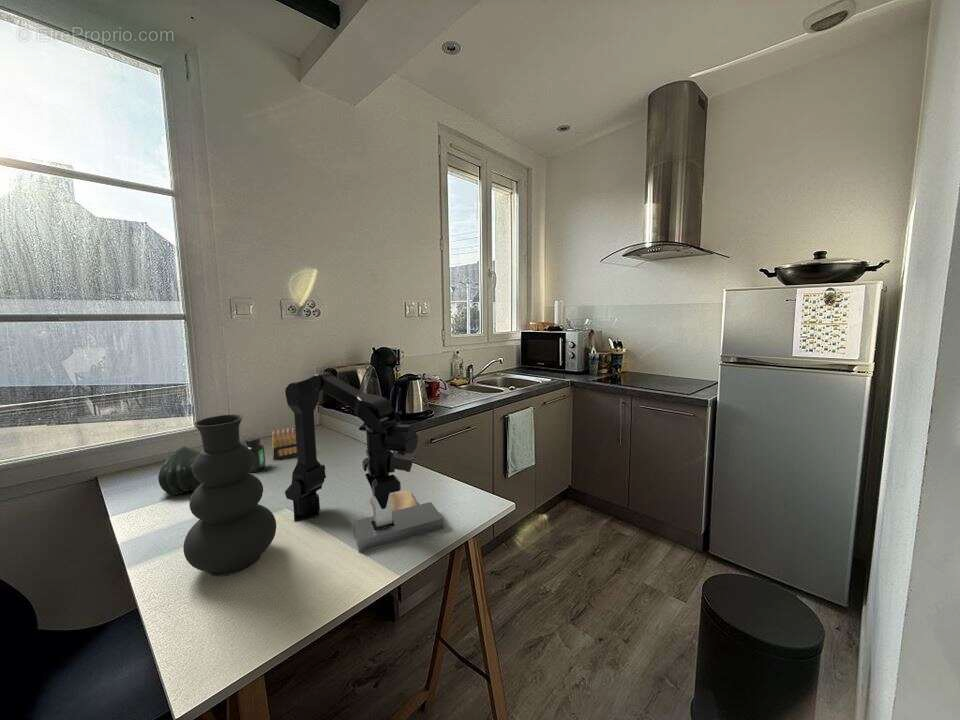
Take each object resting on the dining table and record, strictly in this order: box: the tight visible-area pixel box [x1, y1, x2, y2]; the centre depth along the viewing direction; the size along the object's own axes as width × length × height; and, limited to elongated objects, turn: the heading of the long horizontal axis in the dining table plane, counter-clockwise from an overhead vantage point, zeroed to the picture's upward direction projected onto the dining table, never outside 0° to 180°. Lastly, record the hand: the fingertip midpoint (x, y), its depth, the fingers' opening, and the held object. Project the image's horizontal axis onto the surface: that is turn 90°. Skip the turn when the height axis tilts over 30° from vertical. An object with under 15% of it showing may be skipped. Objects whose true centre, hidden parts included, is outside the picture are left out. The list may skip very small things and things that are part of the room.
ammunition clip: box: [271, 426, 297, 461], centre depth 157 cm, size 11×2×12 cm, turn 124°
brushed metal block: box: [371, 490, 392, 527], centre depth 101 cm, size 4×4×8 cm
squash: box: [157, 445, 201, 495], centre depth 130 cm, size 14×15×15 cm
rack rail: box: [352, 501, 444, 553], centre depth 104 cm, size 22×10×3 cm, turn 116°
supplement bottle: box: [244, 436, 267, 474], centre depth 145 cm, size 7×7×12 cm
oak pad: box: [369, 489, 419, 511], centre depth 116 cm, size 12×12×1 cm
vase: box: [182, 413, 277, 577], centre depth 90 cm, size 18×18×35 cm
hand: (381, 504), depth 101 cm, fingers closed on brushed metal block, 4 cm apart
